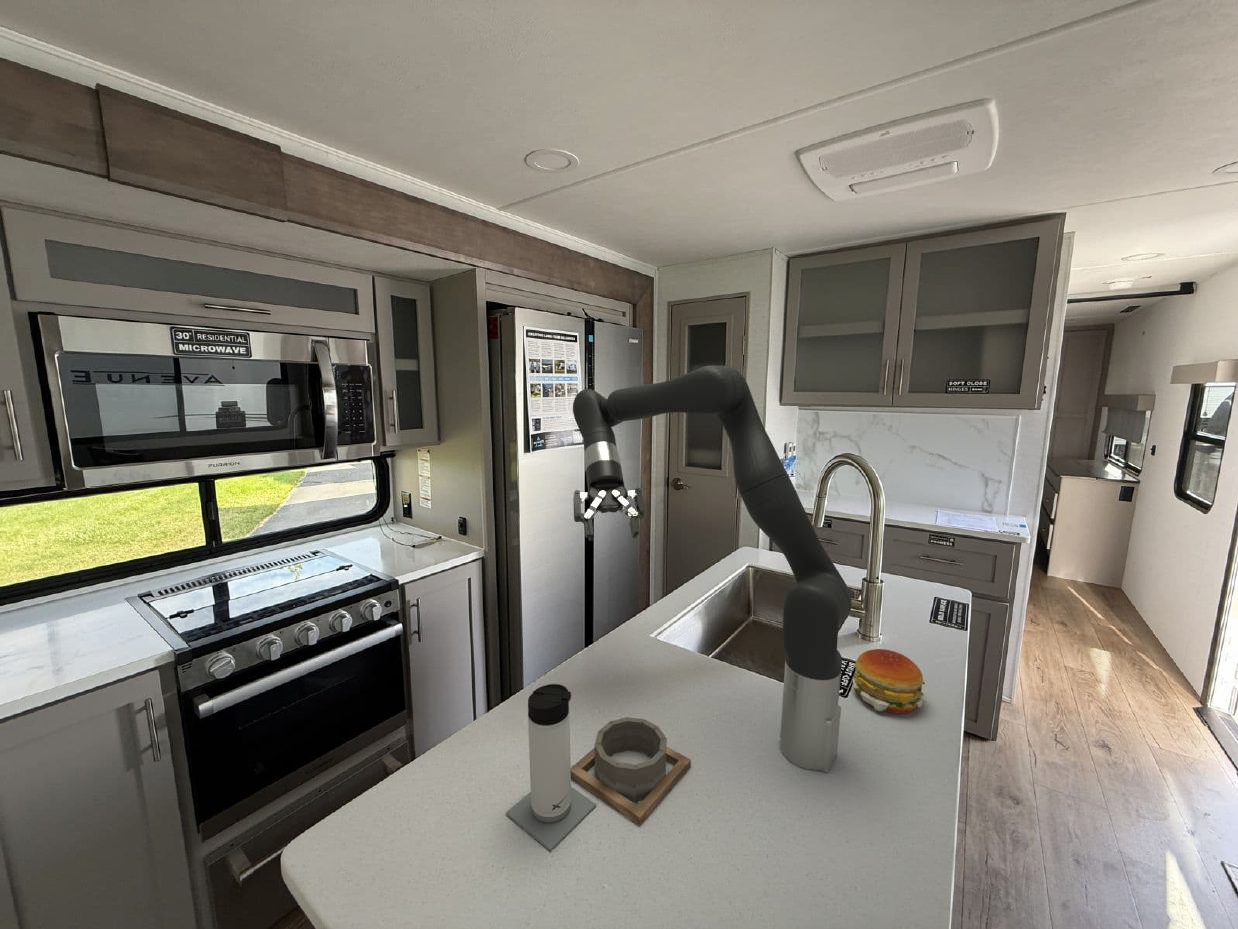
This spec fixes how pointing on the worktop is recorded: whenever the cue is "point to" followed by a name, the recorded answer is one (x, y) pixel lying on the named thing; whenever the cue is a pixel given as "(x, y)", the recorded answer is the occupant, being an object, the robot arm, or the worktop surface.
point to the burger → (888, 681)
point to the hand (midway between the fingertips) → (613, 537)
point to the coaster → (553, 831)
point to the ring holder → (631, 767)
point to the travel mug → (549, 752)
